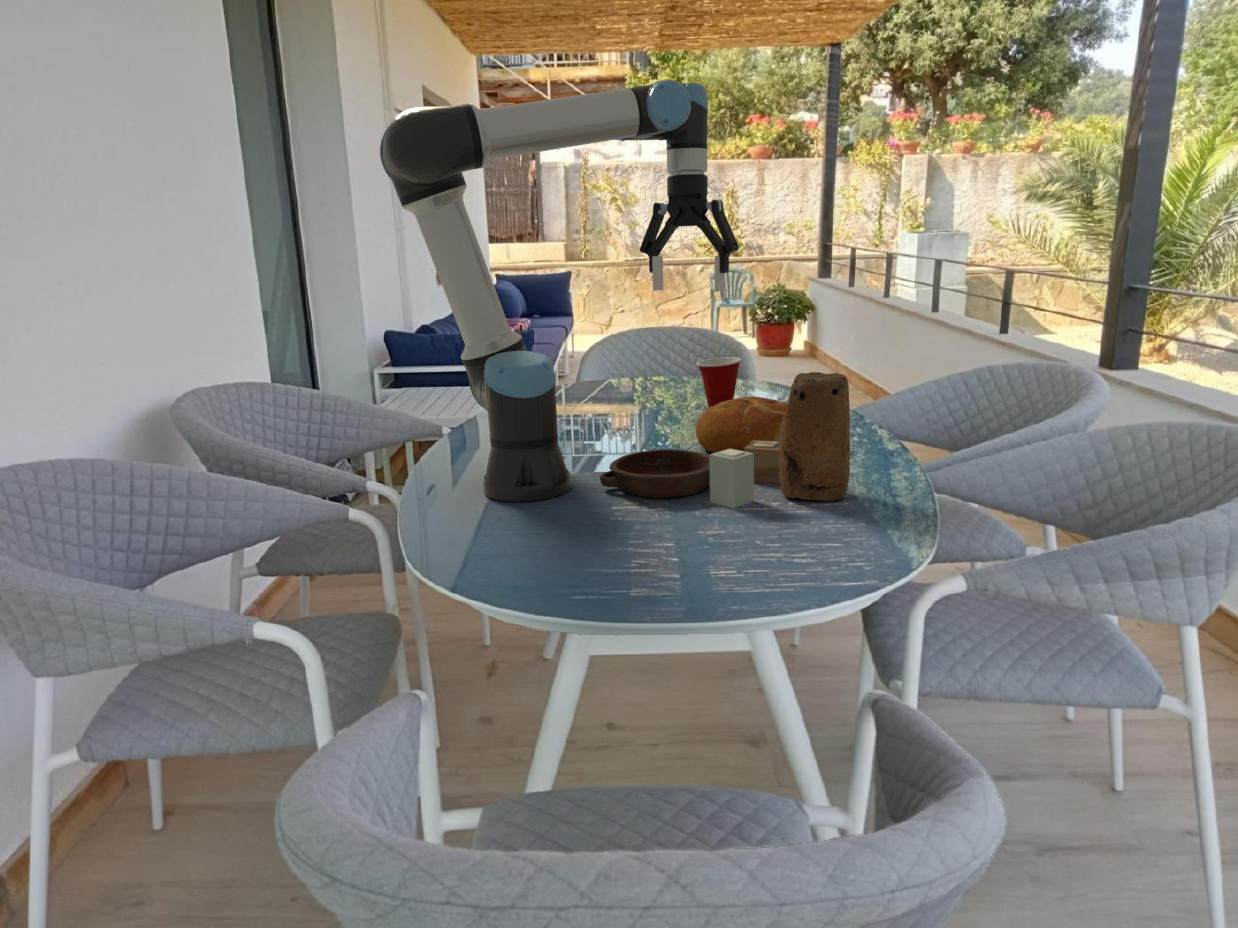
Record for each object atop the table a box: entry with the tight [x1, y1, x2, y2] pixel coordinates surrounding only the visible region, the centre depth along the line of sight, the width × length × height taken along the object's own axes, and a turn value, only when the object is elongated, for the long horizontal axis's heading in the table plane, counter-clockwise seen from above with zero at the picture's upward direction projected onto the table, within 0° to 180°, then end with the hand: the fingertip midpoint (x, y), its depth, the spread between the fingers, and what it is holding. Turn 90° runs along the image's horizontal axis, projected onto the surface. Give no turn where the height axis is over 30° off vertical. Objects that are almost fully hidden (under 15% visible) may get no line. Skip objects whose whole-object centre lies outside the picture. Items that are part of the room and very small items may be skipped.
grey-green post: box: [708, 449, 755, 509], centre depth 141 cm, size 5×5×8 cm
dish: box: [599, 448, 710, 499], centre depth 150 cm, size 18×22×5 cm
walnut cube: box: [744, 440, 780, 484], centre depth 153 cm, size 6×6×6 cm
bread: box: [695, 396, 788, 454], centre depth 174 cm, size 23×23×10 cm
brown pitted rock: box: [779, 371, 851, 502], centre depth 140 cm, size 11×8×20 cm
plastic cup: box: [696, 356, 742, 409], centre depth 213 cm, size 11×11×12 cm
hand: (688, 291), depth 168 cm, fingers open, 13 cm apart
